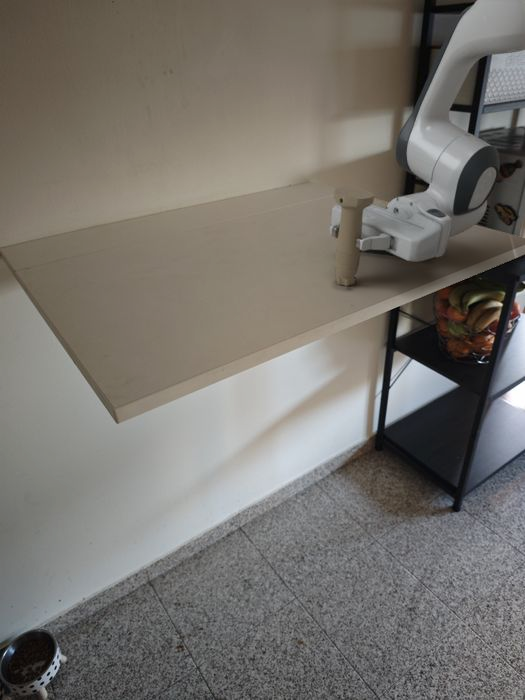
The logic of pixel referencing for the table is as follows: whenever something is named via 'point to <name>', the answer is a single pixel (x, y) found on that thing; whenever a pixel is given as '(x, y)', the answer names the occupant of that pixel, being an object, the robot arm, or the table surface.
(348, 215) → the handle
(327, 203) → the table surface
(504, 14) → the robot arm
